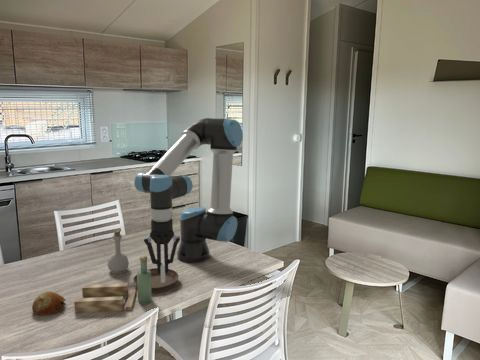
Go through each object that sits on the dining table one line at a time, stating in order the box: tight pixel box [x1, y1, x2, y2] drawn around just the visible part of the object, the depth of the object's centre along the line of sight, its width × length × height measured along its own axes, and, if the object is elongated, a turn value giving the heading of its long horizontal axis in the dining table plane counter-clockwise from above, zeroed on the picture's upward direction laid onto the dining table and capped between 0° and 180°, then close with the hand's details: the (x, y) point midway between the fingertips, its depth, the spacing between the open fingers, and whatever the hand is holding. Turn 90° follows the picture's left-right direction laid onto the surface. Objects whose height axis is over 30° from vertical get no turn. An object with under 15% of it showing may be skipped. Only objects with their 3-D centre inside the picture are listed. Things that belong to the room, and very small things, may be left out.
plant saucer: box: [132, 267, 180, 293], centre depth 164 cm, size 18×18×3 cm
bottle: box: [136, 255, 153, 305], centre depth 148 cm, size 5×5×17 cm
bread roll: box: [31, 290, 67, 317], centre depth 143 cm, size 10×10×8 cm
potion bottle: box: [107, 230, 130, 275], centre depth 174 cm, size 9×9×18 cm
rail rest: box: [73, 282, 137, 314], centre depth 148 cm, size 19×13×4 cm
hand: (163, 280), depth 149 cm, fingers closed
